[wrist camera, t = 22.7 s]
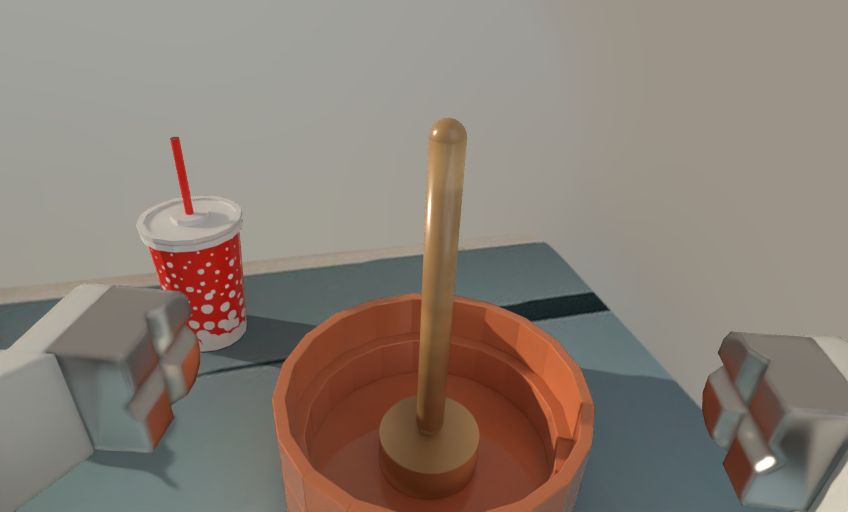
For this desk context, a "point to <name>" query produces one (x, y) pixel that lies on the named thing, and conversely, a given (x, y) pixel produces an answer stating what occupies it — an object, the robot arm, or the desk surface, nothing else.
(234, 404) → the desk surface
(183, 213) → the beverage cup
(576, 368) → the bowl
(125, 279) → the desk surface
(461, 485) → the wooden post stand
